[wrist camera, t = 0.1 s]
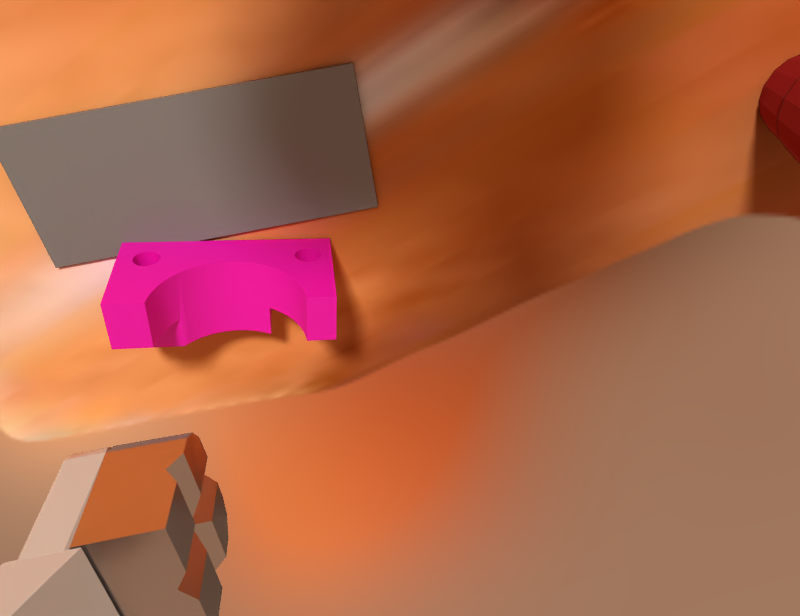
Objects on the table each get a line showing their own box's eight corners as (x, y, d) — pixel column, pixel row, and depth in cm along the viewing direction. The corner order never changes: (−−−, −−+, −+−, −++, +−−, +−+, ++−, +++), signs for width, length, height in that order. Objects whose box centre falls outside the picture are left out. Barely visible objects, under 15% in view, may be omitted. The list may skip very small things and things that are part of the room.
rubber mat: (-15, 128, 43) (-16, 130, 42) (352, 62, 44) (353, 63, 43) (57, 265, 49) (55, 267, 49) (377, 205, 50) (377, 206, 49)
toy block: (136, 311, 52) (118, 376, 46) (122, 242, 48) (100, 304, 42) (329, 304, 54) (335, 365, 48) (329, 238, 50) (336, 296, 45)
